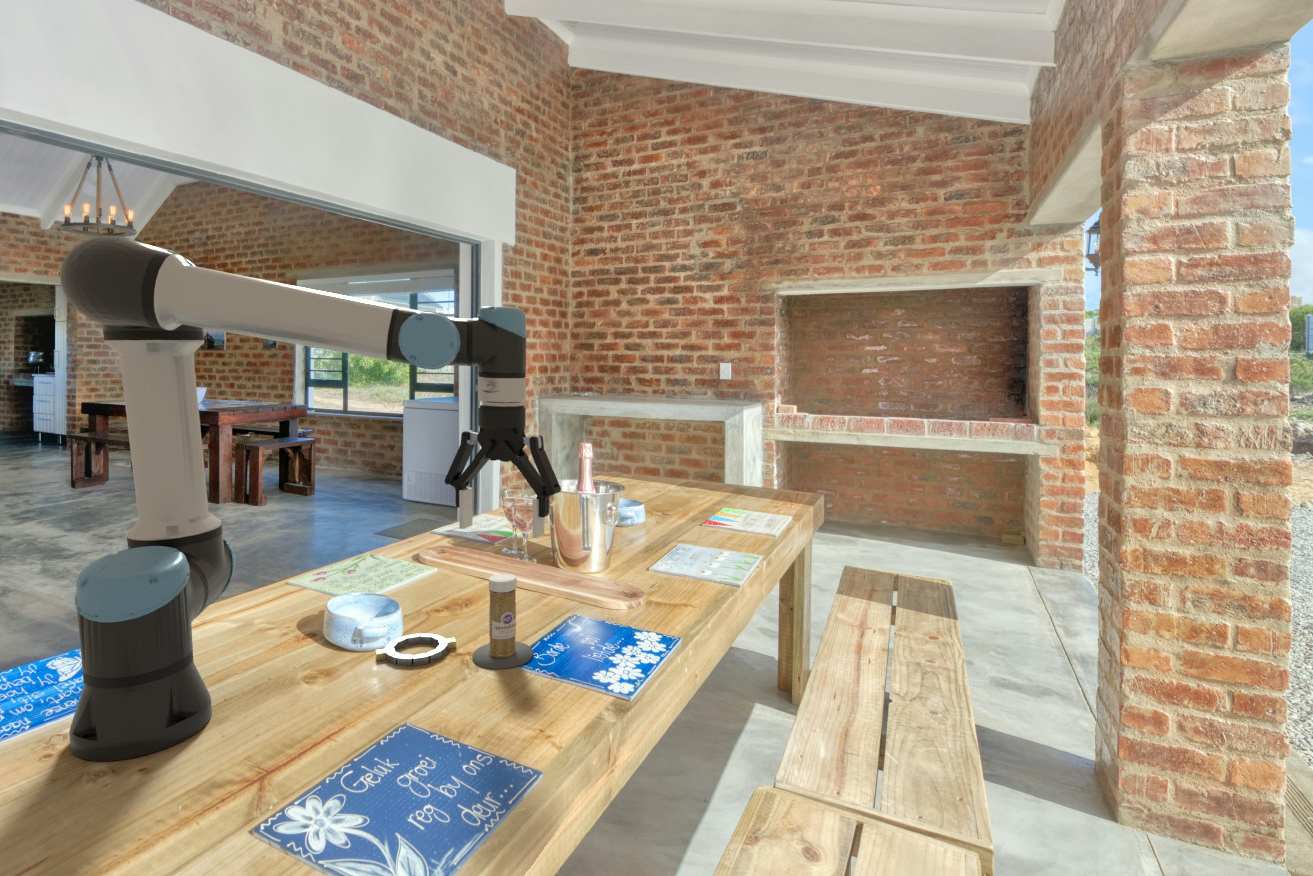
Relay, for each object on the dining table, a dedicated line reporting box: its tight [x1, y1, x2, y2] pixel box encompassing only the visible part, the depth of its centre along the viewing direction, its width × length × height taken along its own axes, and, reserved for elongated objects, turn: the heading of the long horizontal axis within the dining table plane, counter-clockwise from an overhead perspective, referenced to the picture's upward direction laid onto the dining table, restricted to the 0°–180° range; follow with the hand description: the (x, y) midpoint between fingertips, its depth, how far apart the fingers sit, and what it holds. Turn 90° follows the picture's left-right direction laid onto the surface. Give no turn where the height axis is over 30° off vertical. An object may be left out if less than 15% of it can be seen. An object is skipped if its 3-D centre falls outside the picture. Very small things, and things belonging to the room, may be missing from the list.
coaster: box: [472, 641, 534, 670], centre depth 116 cm, size 10×10×1 cm
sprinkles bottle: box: [488, 573, 518, 658], centre depth 115 cm, size 5×5×13 cm
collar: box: [375, 632, 457, 667], centre depth 116 cm, size 13×10×1 cm
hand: (501, 531), depth 113 cm, fingers open, 13 cm apart
